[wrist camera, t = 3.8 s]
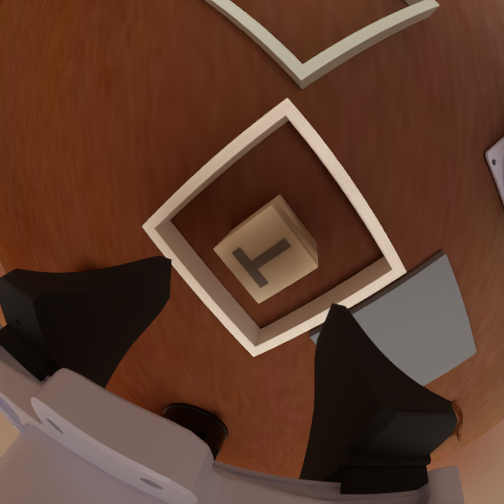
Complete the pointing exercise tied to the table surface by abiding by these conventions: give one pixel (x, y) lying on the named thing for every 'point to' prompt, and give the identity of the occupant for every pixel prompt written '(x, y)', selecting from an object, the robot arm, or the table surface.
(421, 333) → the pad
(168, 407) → the french press
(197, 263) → the bin
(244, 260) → the letter cube
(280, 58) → the bin
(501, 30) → the table surface
